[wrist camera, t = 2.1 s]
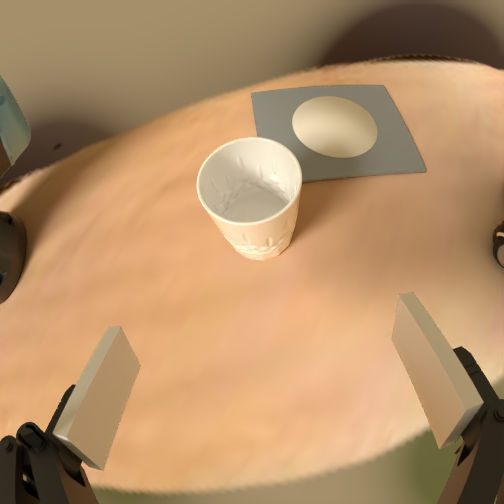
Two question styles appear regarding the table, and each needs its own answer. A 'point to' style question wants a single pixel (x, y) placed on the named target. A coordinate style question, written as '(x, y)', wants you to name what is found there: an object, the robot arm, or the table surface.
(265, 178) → the white cup
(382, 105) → the card
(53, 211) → the table surface
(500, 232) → the headset
